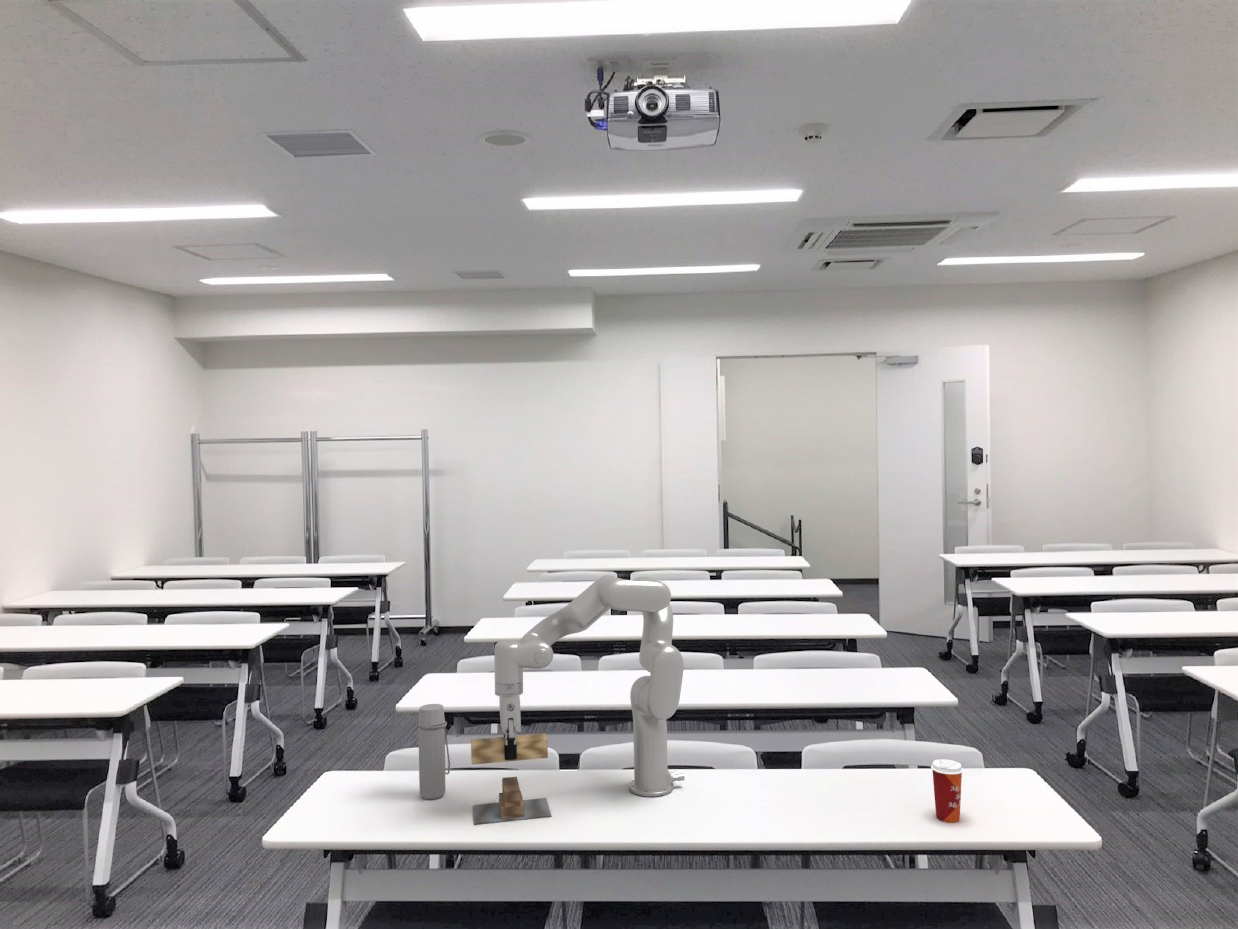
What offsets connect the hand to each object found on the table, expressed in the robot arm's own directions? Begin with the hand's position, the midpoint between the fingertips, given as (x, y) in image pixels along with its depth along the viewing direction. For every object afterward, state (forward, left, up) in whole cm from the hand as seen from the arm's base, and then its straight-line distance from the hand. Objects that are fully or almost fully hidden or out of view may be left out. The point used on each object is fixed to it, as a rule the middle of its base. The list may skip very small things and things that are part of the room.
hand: (509, 755), depth 225 cm
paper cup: (-109, +32, -15) cm, 115 cm away
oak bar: (0, 0, -1) cm, 1 cm away
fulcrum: (0, 0, -15) cm, 15 cm away
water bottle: (+20, -17, -15) cm, 30 cm away
